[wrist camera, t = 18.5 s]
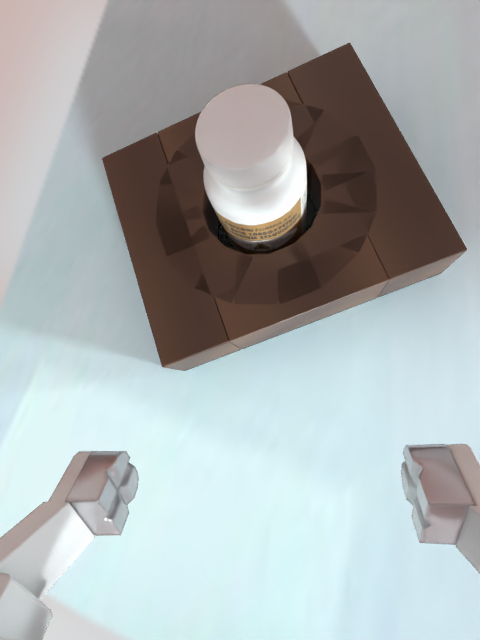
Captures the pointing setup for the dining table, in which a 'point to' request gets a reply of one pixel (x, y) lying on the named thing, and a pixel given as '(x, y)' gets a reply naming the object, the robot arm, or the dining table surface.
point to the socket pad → (309, 250)
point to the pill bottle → (253, 168)
